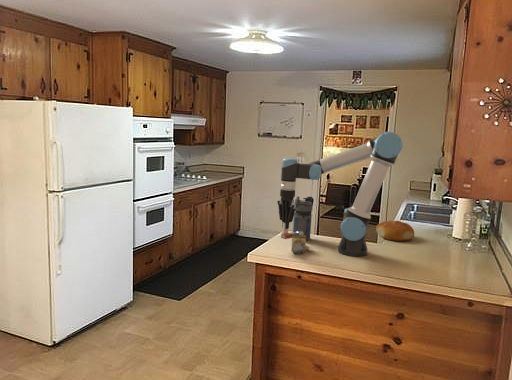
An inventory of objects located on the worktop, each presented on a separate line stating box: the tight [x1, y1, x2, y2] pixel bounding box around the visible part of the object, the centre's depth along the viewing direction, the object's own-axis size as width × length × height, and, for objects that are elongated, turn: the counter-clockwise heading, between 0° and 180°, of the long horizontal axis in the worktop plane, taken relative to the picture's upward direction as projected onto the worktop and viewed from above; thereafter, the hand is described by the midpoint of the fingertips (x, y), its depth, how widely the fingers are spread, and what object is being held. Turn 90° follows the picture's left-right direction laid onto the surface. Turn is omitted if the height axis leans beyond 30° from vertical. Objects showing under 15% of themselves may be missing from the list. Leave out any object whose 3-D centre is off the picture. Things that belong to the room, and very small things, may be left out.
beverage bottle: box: [292, 196, 315, 241], centre depth 239 cm, size 10×13×25 cm
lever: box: [280, 231, 303, 240], centre depth 214 cm, size 14×4×2 cm, turn 132°
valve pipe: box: [290, 235, 307, 255], centre depth 218 cm, size 18×7×8 cm, turn 171°
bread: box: [375, 220, 415, 242], centre depth 254 cm, size 23×23×10 cm
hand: (285, 234), depth 213 cm, fingers closed
